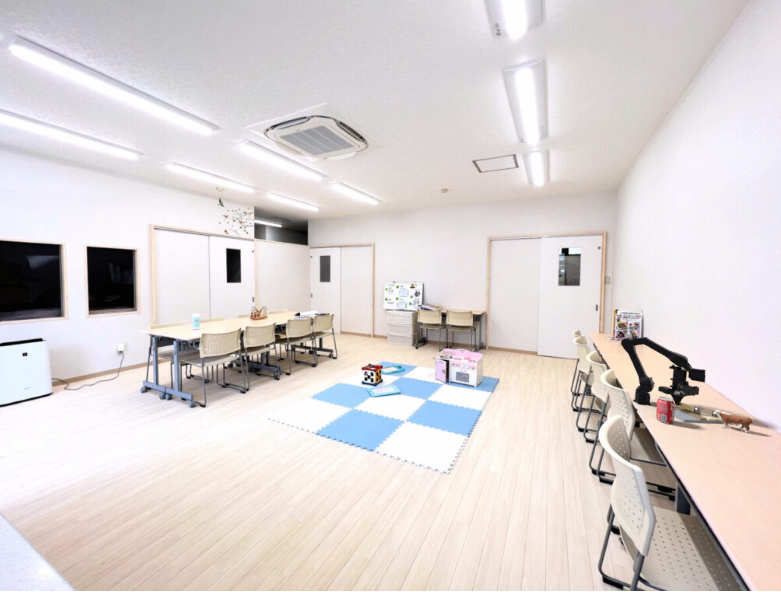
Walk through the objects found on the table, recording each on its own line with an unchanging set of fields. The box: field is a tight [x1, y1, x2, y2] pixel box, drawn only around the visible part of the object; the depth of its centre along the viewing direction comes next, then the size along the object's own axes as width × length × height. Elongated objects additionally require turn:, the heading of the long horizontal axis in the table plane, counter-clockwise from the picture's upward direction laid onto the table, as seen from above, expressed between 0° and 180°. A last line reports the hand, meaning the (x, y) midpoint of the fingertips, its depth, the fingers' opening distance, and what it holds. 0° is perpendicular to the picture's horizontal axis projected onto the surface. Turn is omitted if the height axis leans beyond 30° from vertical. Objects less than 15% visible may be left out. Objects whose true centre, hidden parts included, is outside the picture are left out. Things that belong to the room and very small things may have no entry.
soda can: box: [655, 396, 676, 424], centre depth 167 cm, size 7×7×12 cm
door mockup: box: [674, 408, 732, 425], centre depth 172 cm, size 23×12×4 cm, turn 87°
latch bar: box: [675, 401, 702, 414], centre depth 177 cm, size 12×2×3 cm, turn 8°
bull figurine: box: [713, 409, 753, 434], centre depth 160 cm, size 4×13×8 cm, turn 44°
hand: (677, 405), depth 180 cm, fingers closed
